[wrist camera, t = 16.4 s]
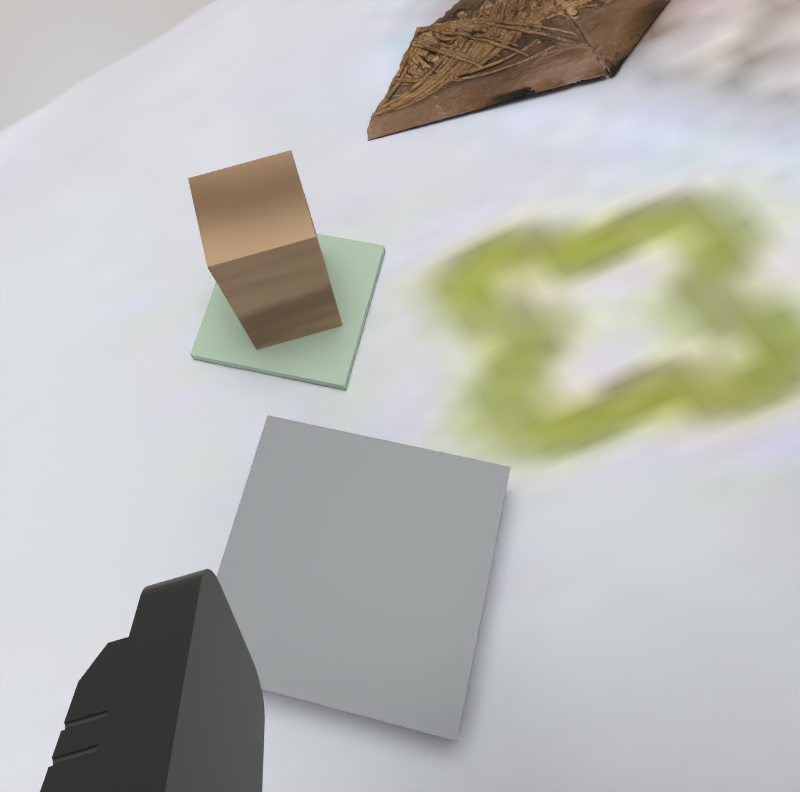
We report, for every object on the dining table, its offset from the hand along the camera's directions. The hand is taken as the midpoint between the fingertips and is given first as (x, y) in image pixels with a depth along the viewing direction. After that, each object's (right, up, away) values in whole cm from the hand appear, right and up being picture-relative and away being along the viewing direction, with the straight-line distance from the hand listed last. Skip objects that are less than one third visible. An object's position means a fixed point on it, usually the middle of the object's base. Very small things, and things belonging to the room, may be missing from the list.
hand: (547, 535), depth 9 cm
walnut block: (-8, +7, +33) cm, 35 cm away
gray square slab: (-4, -7, +28) cm, 29 cm away
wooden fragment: (+7, +25, +40) cm, 48 cm away
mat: (-8, +7, +34) cm, 36 cm away
